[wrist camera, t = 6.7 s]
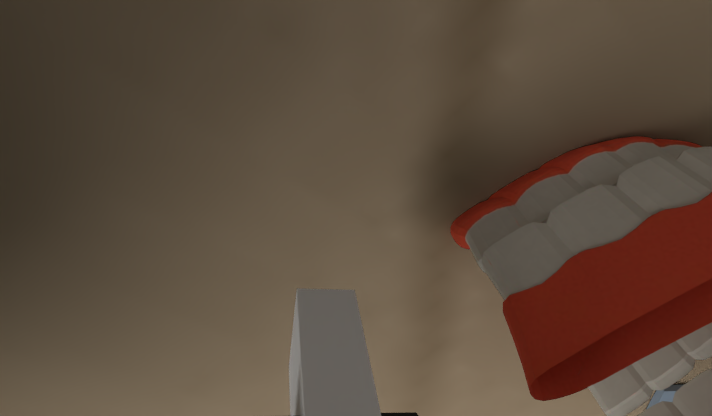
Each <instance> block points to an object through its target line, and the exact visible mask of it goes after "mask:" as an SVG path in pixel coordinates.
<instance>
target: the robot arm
mask: <svg viewBox="0 0 712 416" xmlns="http://www.w3.org/2000/svg"><path fill="white" fill-rule="evenodd" d="M289 387H290V416H418V415H417V413H381V412H380V407H379V403H378V398H377V393H376V388H375V384H374V379H373V374H372V369H371V365H370V360H369V355H368V351H367V346H366V341H365V336H364V332H363V327H362V322H361V317H360V313H359V308H358V303H357V298H356V294H355V290H338V289H300V288H297V291H296V301H295V311H294V321H293V331H292V341H291V351H290V361H289Z"/></svg>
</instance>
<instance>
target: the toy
mask: <svg viewBox="0 0 712 416" xmlns="http://www.w3.org/2000/svg"><path fill="white" fill-rule="evenodd" d="M451 235H452V237H453V239H454V240H455V242H456V243H457V244H458V245H459V246H461V247H462V248H466V249H471V251H472V253H473V255H474V257H475V259H476V261H477V263H478V265H479V267H480V269H481V270H482V271H483V272H485V273H486V274H487V275H488V277H489V278H490V280H491V281H492V282H493V284H494V285H495V287H496V288H497V290H498V291H499V293H500V294H501V296H502V297H503V299H504V300H505V301H504V302H503V313H504V316H505V319H506V321H507V324H508V326H509V329H510V332H511V334H512V337H513V340H514V343H515V346H516V348H517V351H518V354H519V357H520V360H521V363H522V366H523V369H524V373H525V376H526V380H527V383H528V387H529V391H530V394H531V395H532V396H533V397H534V399H537V400H542V401H546V400H552V399H557V398H561V397H564V396H567V395H571V394H573V393H576V392H578V391H581V390H583V389H585V388H587V387H588V388H589V390H590V391H591V393H592V395H593V396H594V398H595V399H596V401H597V402H598V404H599V405H600V407H601V409H602V410H603V412H604V413H605V414H606V415H607V416H625V415H627V414H629V413H630V412H632V411H633V410H635V409H636V408H638V407H639V406H641V405H643V404H644V403H645V402H646V401H647V400H649V399H650V397H651V394H652V391H653V390H664V389H666V388H668V387H670V386H671V385H673V384H674V383H675V382H677V381H678V380H680V379H681V378H682V377H684V376H685V375H686V374H688V373H689V372H690V371H691V370H692V369H693V368H694V364H695V360H705V359H707V358H709V357H711V356H712V147H711V146H708V147H702V146H700V145H698V144H695V143H691V142H685V141H680V140H670V139H654V140H653V139H651V138H650V137H636V136H634V137H626V138H618V139H613V140H609V141H604V142H600V143H597V144H593V145H588V146H584V147H580V148H577V149H574V150H572V151H569V152H566V153H564V154H562V155H560V156H558V157H556V158H554V159H552V160H550V161H549V162H547V163H545V164H543V165H542V166H541V167H540V168H539V169H538V170H535V171H532V172H529V173H527V174H526V175H524V176H522V177H520V178H518V179H517V180H515V181H513V182H512V183H510V184H508V185H507V186H505V187H503V188H502V189H500V190H498V191H497V192H495V193H494V194H492V195H491V196H490V198H489V199H488V200H487V201H483V202H480V203H478V204H477V205H475V206H473V207H472V208H470V209H469V210H467V211H466V212H464V213H463V214H462V215H460V216H459V217H458V218H457V219H456V220H455V221H454V222H453V223H452V226H451ZM637 416H712V369H708V370H706V371H704V372H702V373H700V374H699V375H697V376H696V377H695V378H693V379H692V380H690V381H689V382H687V383H686V384H684V385H683V386H682V387H681V388H680V389H678V390H677V391H676V392H675V394H674V398H673V402H667V401H661V402H659V403H657V404H655V405H653V406H651V407H650V408H648V409H647V410H645V411H644V412H642V413H640V414H639V415H637Z"/></svg>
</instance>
